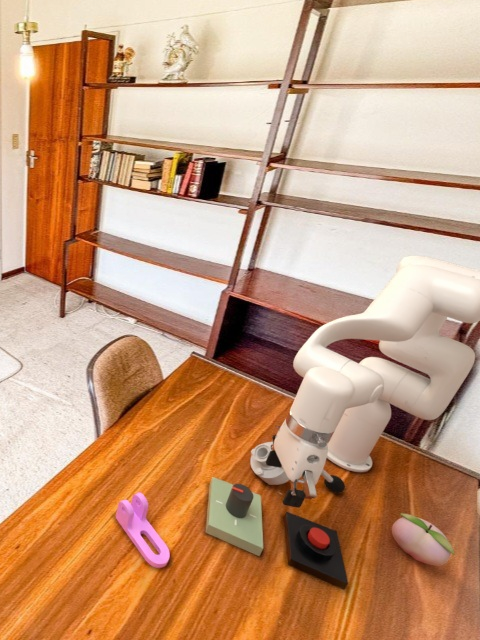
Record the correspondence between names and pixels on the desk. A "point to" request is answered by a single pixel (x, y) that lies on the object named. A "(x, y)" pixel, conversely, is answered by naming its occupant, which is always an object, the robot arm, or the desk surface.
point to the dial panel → (234, 519)
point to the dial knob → (239, 500)
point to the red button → (318, 538)
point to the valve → (278, 474)
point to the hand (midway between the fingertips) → (281, 484)
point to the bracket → (142, 530)
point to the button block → (314, 551)
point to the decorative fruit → (422, 540)
